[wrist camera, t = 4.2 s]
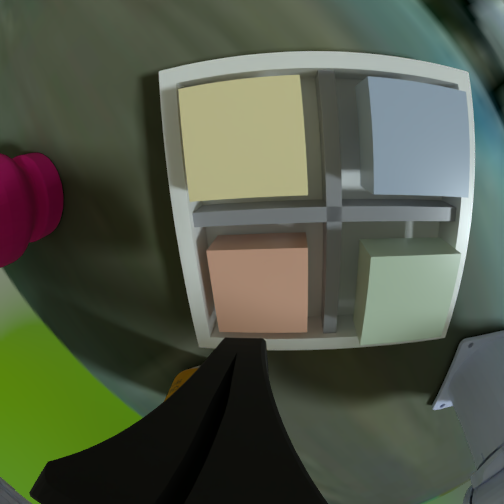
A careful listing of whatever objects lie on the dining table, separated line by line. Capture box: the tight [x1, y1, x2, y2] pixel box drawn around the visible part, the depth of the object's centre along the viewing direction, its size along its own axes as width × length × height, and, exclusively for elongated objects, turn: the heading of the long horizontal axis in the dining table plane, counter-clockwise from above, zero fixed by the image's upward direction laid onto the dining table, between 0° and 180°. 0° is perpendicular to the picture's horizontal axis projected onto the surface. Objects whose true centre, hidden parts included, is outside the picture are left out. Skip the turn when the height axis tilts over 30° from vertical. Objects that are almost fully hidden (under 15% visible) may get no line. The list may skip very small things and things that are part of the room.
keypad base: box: [159, 51, 475, 350], centre depth 13 cm, size 14×14×2 cm
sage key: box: [353, 237, 461, 345], centre depth 12 cm, size 4×4×2 cm
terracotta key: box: [206, 232, 308, 333], centre depth 14 cm, size 4×4×2 cm
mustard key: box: [178, 75, 308, 202], centre depth 11 cm, size 4×4×2 cm
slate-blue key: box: [355, 76, 470, 198], centre depth 10 cm, size 4×4×2 cm
